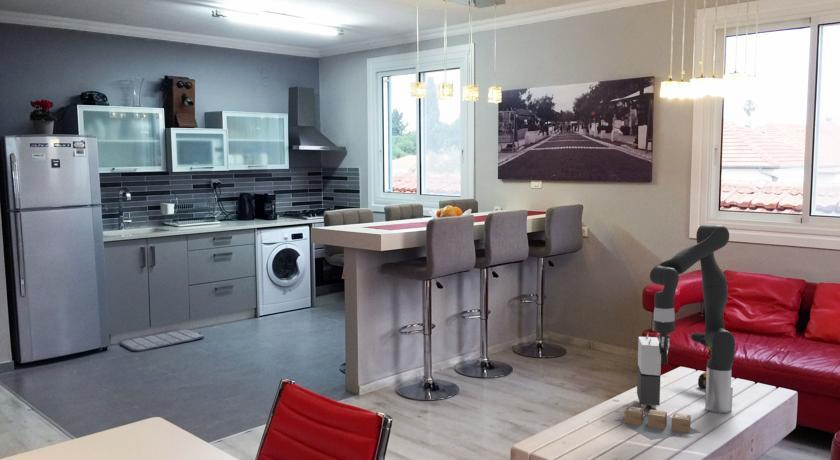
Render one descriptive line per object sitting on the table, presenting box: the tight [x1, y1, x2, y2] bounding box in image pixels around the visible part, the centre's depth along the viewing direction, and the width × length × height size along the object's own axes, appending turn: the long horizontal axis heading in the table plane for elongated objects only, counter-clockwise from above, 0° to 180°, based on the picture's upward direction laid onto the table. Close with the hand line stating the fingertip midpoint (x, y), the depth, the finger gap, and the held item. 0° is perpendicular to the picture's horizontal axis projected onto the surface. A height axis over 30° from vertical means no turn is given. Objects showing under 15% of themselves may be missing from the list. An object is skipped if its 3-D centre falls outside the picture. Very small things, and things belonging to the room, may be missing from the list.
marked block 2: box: [671, 412, 692, 433], centre depth 271 cm, size 6×6×5 cm
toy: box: [636, 332, 662, 410], centre depth 298 cm, size 15×7×30 cm, turn 168°
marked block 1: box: [624, 405, 645, 426], centre depth 278 cm, size 6×6×5 cm
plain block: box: [647, 409, 668, 430], centre depth 274 cm, size 6×6×5 cm
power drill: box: [689, 332, 712, 390], centre depth 324 cm, size 8×21×25 cm, turn 32°
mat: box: [615, 414, 702, 441], centre depth 275 cm, size 22×22×1 cm
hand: (664, 363), depth 278 cm, fingers closed
